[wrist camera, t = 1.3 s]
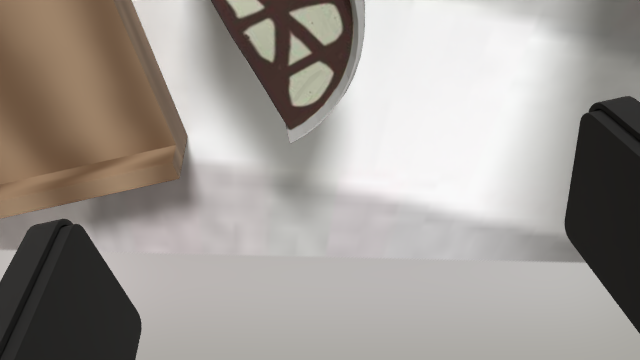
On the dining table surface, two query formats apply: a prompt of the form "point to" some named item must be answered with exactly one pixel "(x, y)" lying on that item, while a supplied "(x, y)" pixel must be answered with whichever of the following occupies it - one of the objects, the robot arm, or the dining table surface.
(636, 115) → the robot arm
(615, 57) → the dining table surface
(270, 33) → the food container
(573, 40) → the dining table surface
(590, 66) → the dining table surface
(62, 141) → the low wooden shelf
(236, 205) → the dining table surface
